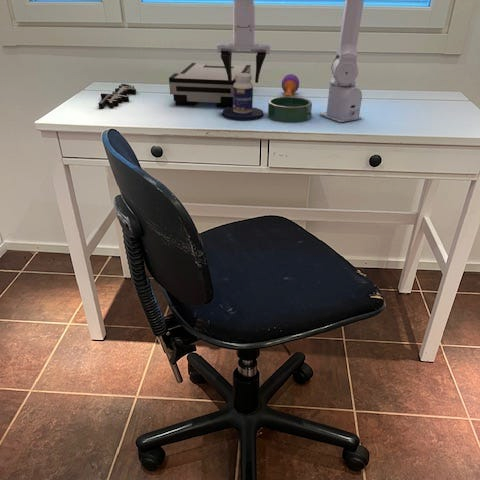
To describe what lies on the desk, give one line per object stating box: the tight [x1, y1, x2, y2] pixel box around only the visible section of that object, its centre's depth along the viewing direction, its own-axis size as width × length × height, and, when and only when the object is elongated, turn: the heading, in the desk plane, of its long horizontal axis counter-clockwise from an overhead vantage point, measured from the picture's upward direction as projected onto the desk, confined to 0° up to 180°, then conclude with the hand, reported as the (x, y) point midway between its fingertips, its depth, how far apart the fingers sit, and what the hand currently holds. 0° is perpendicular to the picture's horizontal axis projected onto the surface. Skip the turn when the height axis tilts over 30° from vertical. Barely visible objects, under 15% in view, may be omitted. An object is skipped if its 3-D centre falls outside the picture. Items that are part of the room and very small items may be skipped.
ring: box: [267, 96, 313, 123], centre depth 141 cm, size 12×12×4 cm
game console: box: [168, 62, 252, 109], centre depth 159 cm, size 21×32×8 cm, turn 172°
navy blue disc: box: [221, 106, 265, 122], centre depth 143 cm, size 12×12×1 cm
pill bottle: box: [233, 73, 254, 114], centre depth 140 cm, size 6×6×10 cm
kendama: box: [281, 73, 300, 97], centre depth 158 cm, size 6×6×20 cm
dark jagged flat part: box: [97, 83, 137, 110], centre depth 158 cm, size 28×2×10 cm
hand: (243, 81), depth 138 cm, fingers open, 7 cm apart
